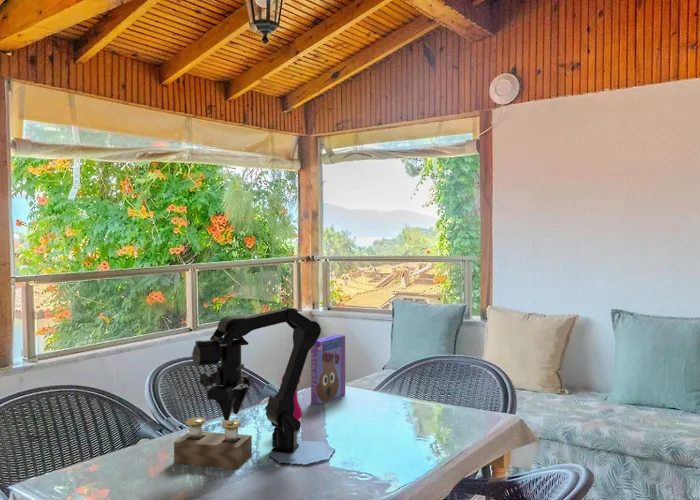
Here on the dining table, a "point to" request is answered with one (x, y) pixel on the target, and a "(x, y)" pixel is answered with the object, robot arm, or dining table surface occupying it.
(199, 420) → the peg
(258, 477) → the dining table surface
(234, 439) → the peg
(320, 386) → the cereal box
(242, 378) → the robot arm
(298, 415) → the pepper mill
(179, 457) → the block
